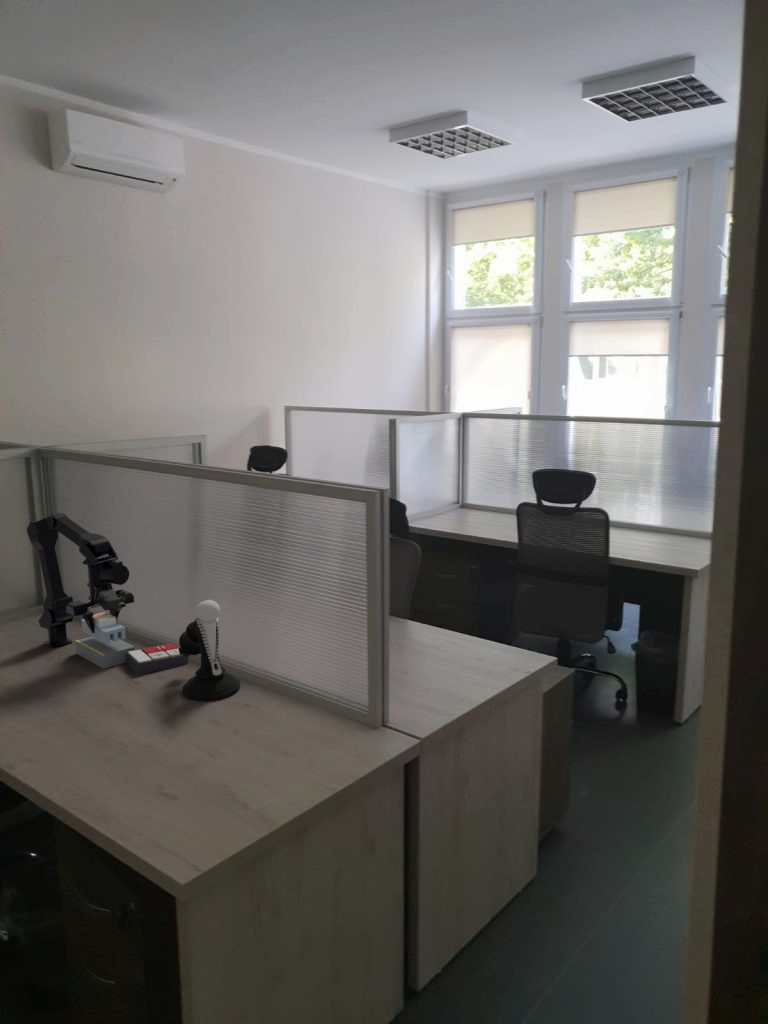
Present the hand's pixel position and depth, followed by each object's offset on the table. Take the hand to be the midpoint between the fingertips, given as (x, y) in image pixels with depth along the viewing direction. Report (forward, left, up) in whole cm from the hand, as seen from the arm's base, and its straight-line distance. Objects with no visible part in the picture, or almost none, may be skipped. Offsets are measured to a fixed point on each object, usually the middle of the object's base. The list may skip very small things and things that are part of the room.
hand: (103, 630), depth 234 cm
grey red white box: (+17, +8, -9) cm, 20 cm away
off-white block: (+2, 0, +2) cm, 3 cm away
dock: (0, 0, -8) cm, 8 cm away
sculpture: (+40, +9, -8) cm, 42 cm away
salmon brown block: (-2, 0, +2) cm, 3 cm away
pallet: (0, 0, -1) cm, 1 cm away
